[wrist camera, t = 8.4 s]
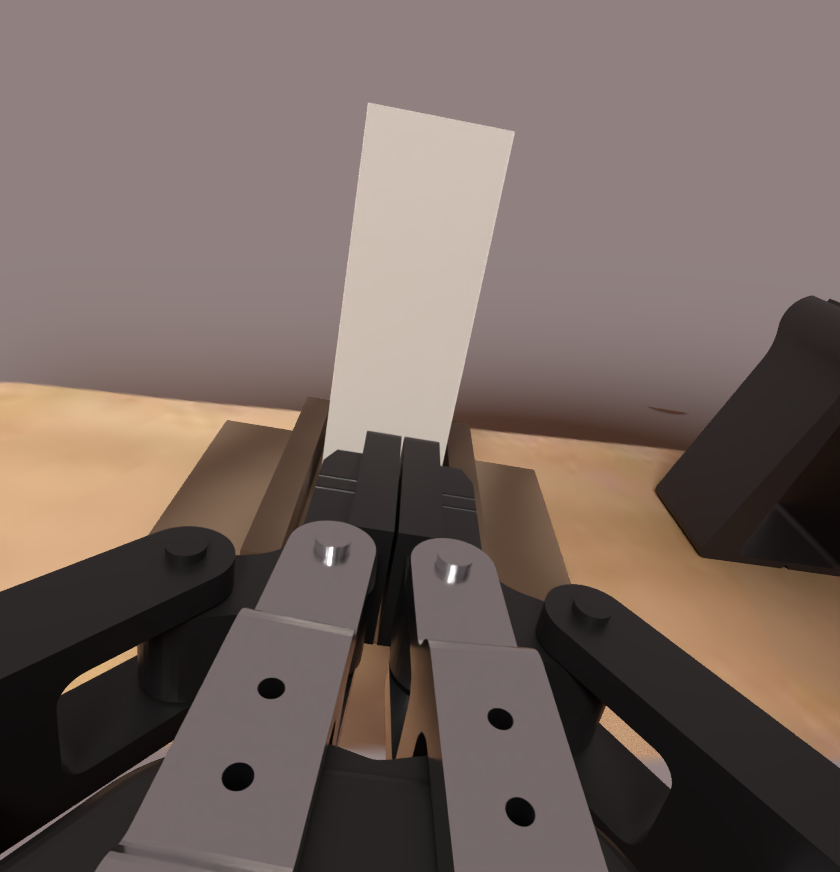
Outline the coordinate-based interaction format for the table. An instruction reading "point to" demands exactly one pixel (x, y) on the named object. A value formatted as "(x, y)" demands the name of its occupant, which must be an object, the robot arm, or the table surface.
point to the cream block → (413, 274)
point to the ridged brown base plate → (296, 479)
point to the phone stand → (771, 456)
